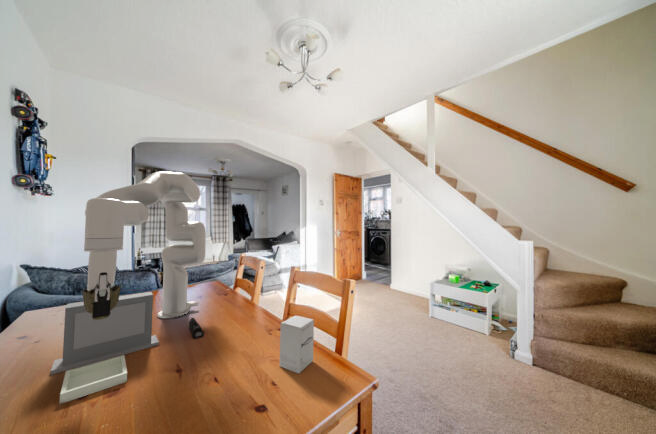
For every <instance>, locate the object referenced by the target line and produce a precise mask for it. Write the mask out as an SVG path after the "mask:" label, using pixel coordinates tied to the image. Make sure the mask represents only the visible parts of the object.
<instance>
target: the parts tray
mask: <svg viewBox="0 0 656 434" xmlns="http://www.w3.org/2000/svg"><path fill="white" fill-rule="evenodd" d="M125 355H126V354H124V355H120V356H117V357H113V358H110V359H106V360H102V361H99V362H95V363H92V364H88V365H84V366H81V367H77V368H73V369H70V370H66V371H65V373H64V377H63V382H62V386H61V390H60V393H59V405H62V404H64V403H65V404H66V403H68V402H71V401H73V400H77V399H79V398H82V397H85V396H87V395H91V394H94V393H97V392H100V391H103V390H107V389H108V388H112V387H115V386H118V385H121V384H124V383H126V382H127V381H128V369H127V364H126V358H125ZM61 403H62V404H61Z"/></svg>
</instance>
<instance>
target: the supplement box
mask: <svg viewBox="0 0 656 434" xmlns="http://www.w3.org/2000/svg"><path fill="white" fill-rule="evenodd" d="M314 321H315V319H313V318H308V317H304V316H301V315H294V316H292V317H289V318H287V319H286V320H284V321H282V322H281V323H280V330H279V331H280V337H279V340H280V341H279V367H281V368H282V369H285V370H288V371H291V372H293V373H296V374H300V373H301V372H303V371H304V369H306V368H307V367H308V366H309V365H310V364H311V363H313V361H314V337H315V336H314V335H315V333H314V328H315V327H314V326H315V325H314V324H315V322H314Z"/></svg>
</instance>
